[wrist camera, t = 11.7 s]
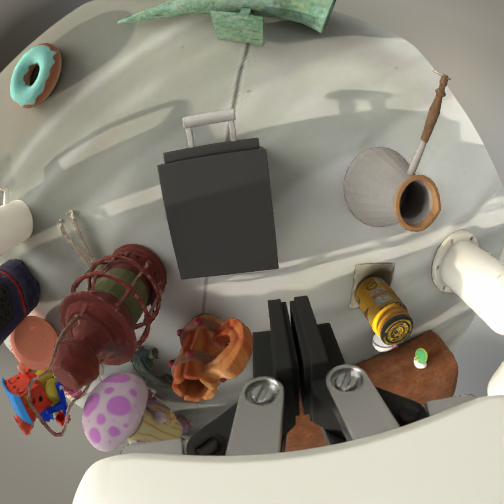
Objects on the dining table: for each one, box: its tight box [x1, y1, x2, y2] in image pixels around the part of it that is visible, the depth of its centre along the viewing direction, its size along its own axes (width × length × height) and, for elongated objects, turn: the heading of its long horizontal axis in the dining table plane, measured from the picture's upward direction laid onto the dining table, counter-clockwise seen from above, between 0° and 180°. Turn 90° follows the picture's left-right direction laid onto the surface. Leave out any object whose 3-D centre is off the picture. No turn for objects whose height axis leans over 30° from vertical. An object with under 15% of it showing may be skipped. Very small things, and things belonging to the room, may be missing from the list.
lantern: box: [27, 244, 167, 437], centre depth 29 cm, size 12×12×30 cm
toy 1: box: [63, 385, 82, 399], centre depth 52 cm, size 7×6×15 cm
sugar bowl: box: [10, 316, 58, 374], centre depth 43 cm, size 12×14×10 cm
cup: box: [0, 187, 33, 256], centre depth 33 cm, size 8×12×10 cm
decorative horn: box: [118, 0, 336, 46], centre depth 25 cm, size 7×11×30 cm
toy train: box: [2, 369, 71, 435], centre depth 40 cm, size 10×16×15 cm, turn 177°
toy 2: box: [82, 373, 192, 451], centre depth 45 cm, size 17×23×30 cm
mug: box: [168, 315, 253, 402], centre depth 40 cm, size 15×8×15 cm, turn 130°
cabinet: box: [157, 147, 279, 279], centre depth 34 cm, size 14×12×10 cm
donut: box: [11, 43, 62, 108], centre depth 27 cm, size 12×12×4 cm
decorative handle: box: [130, 346, 178, 396], centre depth 49 cm, size 15×7×5 cm, turn 29°
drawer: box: [163, 109, 259, 164], centre depth 33 cm, size 16×10×8 cm, turn 7°
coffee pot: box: [344, 70, 451, 232], centre depth 29 cm, size 21×12×15 cm, turn 173°
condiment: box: [350, 263, 413, 345], centre depth 39 cm, size 7×8×12 cm
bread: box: [286, 330, 458, 452], centre depth 47 cm, size 16×39×13 cm, turn 113°
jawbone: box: [57, 210, 100, 278], centre depth 41 cm, size 17×5×2 cm, turn 27°
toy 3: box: [372, 334, 428, 368], centre depth 43 cm, size 6×12×8 cm
